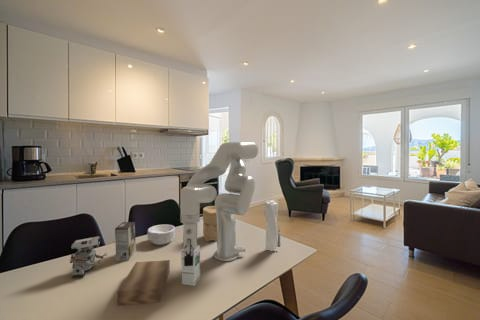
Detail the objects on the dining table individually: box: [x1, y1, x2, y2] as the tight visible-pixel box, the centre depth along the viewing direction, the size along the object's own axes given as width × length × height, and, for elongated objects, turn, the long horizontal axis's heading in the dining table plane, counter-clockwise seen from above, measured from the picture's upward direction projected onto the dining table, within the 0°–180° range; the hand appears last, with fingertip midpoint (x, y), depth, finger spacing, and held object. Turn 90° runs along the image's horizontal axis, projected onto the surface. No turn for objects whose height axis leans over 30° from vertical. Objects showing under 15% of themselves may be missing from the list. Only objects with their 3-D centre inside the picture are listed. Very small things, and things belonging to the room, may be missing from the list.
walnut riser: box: [116, 259, 171, 306], centre depth 88 cm, size 14×20×5 cm
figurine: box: [69, 235, 108, 279], centre depth 97 cm, size 9×12×15 cm
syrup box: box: [180, 243, 201, 287], centre depth 91 cm, size 6×6×14 cm
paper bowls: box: [147, 224, 176, 246], centre depth 130 cm, size 15×15×8 cm
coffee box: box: [114, 221, 137, 262], centre depth 112 cm, size 9×6×16 cm
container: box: [202, 205, 217, 242], centre depth 136 cm, size 13×13×18 cm
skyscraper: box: [264, 199, 282, 252], centre depth 120 cm, size 8×8×28 cm
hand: (189, 259), depth 90 cm, fingers open, 9 cm apart
